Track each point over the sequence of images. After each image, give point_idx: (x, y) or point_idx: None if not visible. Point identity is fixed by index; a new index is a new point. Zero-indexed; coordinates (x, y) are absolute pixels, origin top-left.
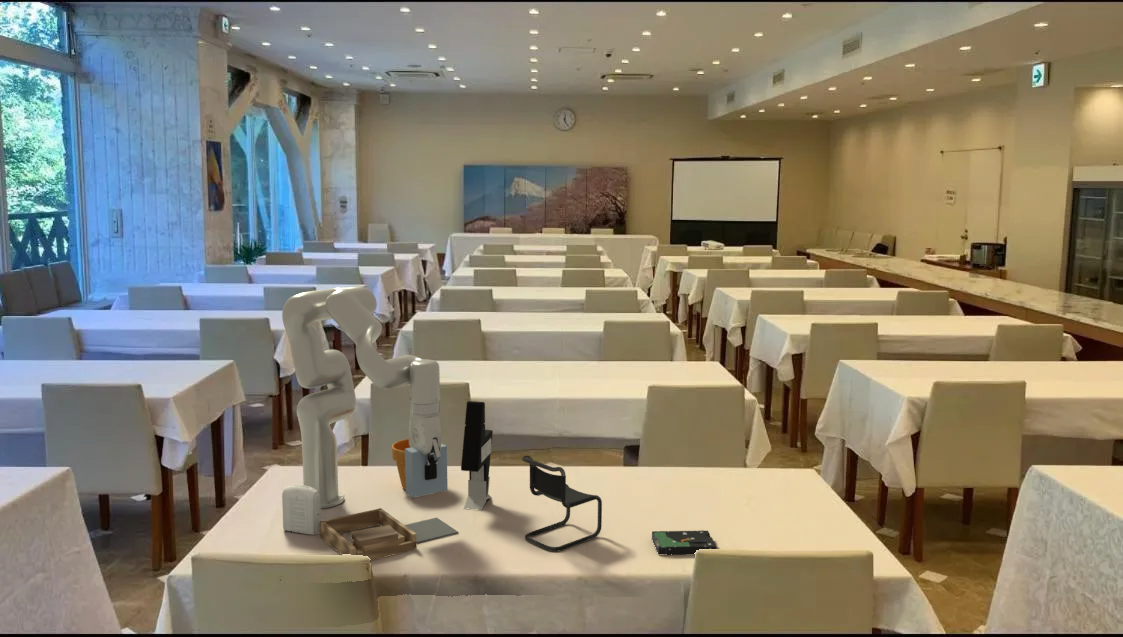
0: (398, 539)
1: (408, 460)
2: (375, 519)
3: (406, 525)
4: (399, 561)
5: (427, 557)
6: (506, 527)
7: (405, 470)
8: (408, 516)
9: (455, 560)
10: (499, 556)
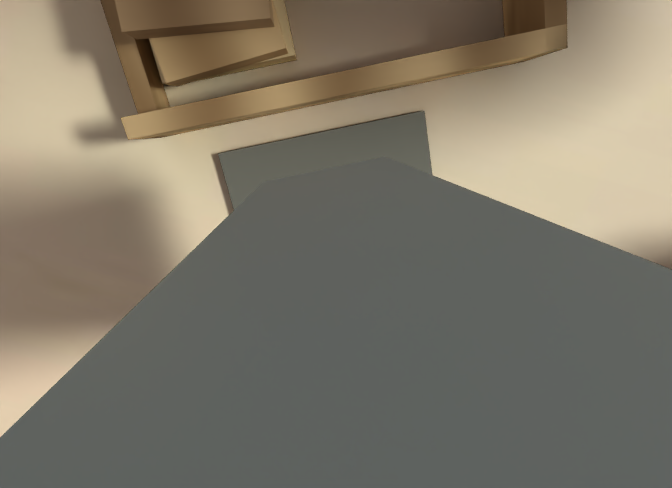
0: (155, 46)
1: (344, 269)
2: (517, 16)
3: (420, 160)
4: (38, 23)
5: (59, 157)
6: None
7: (439, 181)
8: (529, 198)
9: (6, 254)
10: (15, 401)
